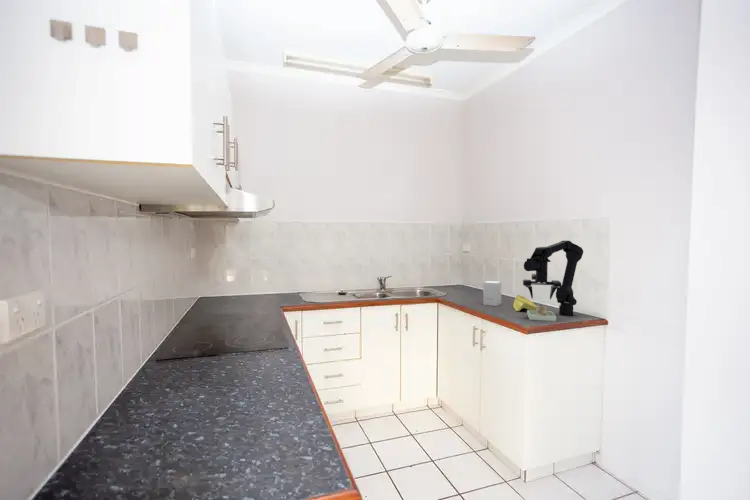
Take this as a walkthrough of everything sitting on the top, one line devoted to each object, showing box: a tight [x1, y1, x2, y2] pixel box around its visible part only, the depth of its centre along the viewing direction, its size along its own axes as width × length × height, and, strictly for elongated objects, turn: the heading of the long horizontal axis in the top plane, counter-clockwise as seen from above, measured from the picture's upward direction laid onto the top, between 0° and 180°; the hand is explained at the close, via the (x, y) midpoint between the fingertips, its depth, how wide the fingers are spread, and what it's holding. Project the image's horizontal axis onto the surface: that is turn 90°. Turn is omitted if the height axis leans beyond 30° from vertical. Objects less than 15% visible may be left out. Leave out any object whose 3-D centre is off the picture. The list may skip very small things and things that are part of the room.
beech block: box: [535, 304, 547, 316], centre depth 202 cm, size 4×4×6 cm
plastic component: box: [513, 294, 537, 313], centre depth 226 cm, size 20×7×10 cm
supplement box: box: [482, 280, 502, 307], centre depth 241 cm, size 9×9×15 cm
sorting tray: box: [526, 309, 557, 322], centre depth 203 cm, size 13×13×2 cm
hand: (541, 298), depth 202 cm, fingers open, 9 cm apart
